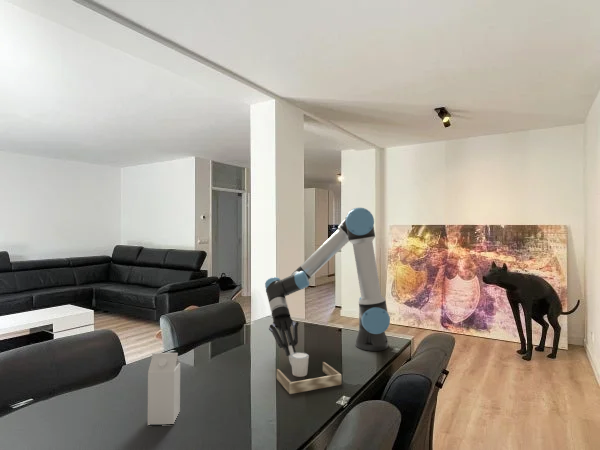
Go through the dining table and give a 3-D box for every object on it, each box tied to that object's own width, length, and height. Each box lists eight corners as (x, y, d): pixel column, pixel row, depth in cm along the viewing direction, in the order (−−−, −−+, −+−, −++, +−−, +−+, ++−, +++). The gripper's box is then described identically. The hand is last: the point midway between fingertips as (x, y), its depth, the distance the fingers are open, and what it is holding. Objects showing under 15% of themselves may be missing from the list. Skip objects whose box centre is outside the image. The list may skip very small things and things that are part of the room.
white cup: (308, 377, 134) (308, 358, 134) (289, 376, 135) (289, 357, 135) (309, 370, 141) (309, 352, 141) (291, 369, 142) (291, 351, 142)
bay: (324, 370, 141) (324, 361, 141) (341, 384, 128) (341, 374, 128) (276, 378, 133) (276, 369, 133) (289, 394, 121) (289, 383, 121)
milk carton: (155, 413, 108) (155, 349, 108) (180, 412, 108) (180, 348, 108) (147, 426, 101) (148, 357, 101) (173, 425, 101) (174, 357, 101)
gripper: (291, 313, 161) (306, 365, 146) (263, 316, 156) (275, 369, 141) (296, 304, 156) (311, 356, 141) (267, 306, 151) (279, 360, 136)
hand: (293, 363), depth 141 cm, fingers closed
